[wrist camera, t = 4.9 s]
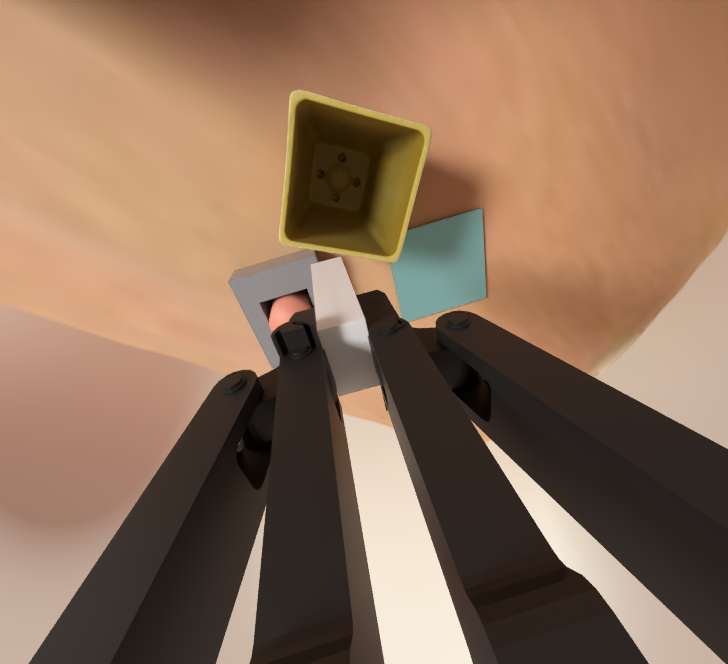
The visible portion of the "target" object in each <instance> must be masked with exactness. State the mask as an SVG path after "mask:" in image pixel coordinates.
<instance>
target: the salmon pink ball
mask: <svg viewBox="0 0 728 664" xmlns="http://www.w3.org/2000/svg"><path fill="white" fill-rule="evenodd" d="M310 308H312V301H311V299H310V297H309V296H308V294H307V293H305V292H304V291H302V290H300V291H297V292H293V293H290V294H287V295H283V296H280V297H277V298H274V300H273V304H272V309H271V314H270V319H269V326H270V329H271V331H272V332H273V331H274V330H275V329H276V328H277V327H278V326H280V325H282V324H284V323H286V322H289V319H290V318H291V317H292V315H293V314H294V313H295V312H299V311H303V310H307V309H310Z"/></svg>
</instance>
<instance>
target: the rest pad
mask: <svg viewBox="0 0 728 664" xmlns="http://www.w3.org/2000/svg"><path fill="white" fill-rule="evenodd" d="M390 263H391V268H392V273H393V277H394V282H395V287H396V291H397V296H398V301H399V306H400V310H401V315H402V319H405V320H406V321H407V322H409V321H412V320H416V319H419V318H422V317H425V316H429V315H432V314H435V313H438V312H441V311H445V310H448V309H451V308H454V307H458V306H461V305H464V304H467V303H471V302H474V301H477V300H480V299H484V298H486V277H485V256H484V234H483V213H482V208H478V209H475V210H472V211H468V212H465V213H462V214H458V215H455V216H452V217H448V218H445V219H442V220H438V221H435V222H432V223H428V224H425V225H422V226H418V227H415V228H412V229H408V230H407V233H406V237H405V240H404V244H403V248H402V252H401V255H400V257H399V259H398V261H397V262H390Z"/></svg>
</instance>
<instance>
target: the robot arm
mask: <svg viewBox="0 0 728 664" xmlns="http://www.w3.org/2000/svg"><path fill="white" fill-rule="evenodd" d="M311 273H312V284H313V294H314V304H315V307H314V308H310V309H307V310H303V311H299V312H295V313H294V314H293V315H292V317H291V318H290V319H289V322H286V323H284V324H282V325H280V326H278V327H277V328H276V329H275V330H274V331H273V332H272V334H271V336H270V337H271V339H272V341H273V344H274V346H275V348H276V350H277V353H278V355H279V357H280V362H279V366H278V367H277V368H275V369H274V370H272V371H270V372H268V373H266V374H264V375H262V376H260V377H257V375H256V373H255V372H253V371H251V370H241V371H237V372H233V373H231V374H229V375H227V376H226V377H224V378H223V379H221V380H220V381H219V382H218V383H217V384H216V385H215V386H214V387H213V389H212V390H211V392H210V393H209V395H208V397H207V398H206V400H205V401H204V402H203V404H202V405H201V407H200V408H199V410H198V411H197V413H196V414H195V416H194V418H193V419H192V420H191V422H190V423H189V425H188V426H187V428H186V429H185V431H184V432H183V434H182V435H181V437H180V438H179V440H178V441H177V443H176V444H175V446H174V447H173V449H172V450H171V452H170V453H169V455H168V456H167V458H166V459H165V461H164V462H163V464H162V465H161V467H160V468H159V470H158V471H157V473H156V474H155V476H154V477H153V479H152V480H151V482H150V483H149V485H148V486H147V488H146V489H145V491H144V492H143V494H142V495H141V497H140V498H139V500H138V501H137V503H136V504H135V506H134V507H133V508H132V510H131V512H130V513H129V514H128V516H127V518H126V519H125V520H124V522H123V523H122V525H121V526H120V528H119V529H118V531H117V533H116V534H115V535H114V537H113V539H112V540H111V541H110V543H109V544H108V546H107V547H106V549H105V551H104V552H103V553H102V555H101V556H100V558H99V559H98V561H97V562H96V564H95V565H94V567H93V568H92V570H91V571H90V573H89V574H88V576H87V578H86V579H85V580H84V582H83V583H82V585H81V586H80V588H79V589H78V591H77V592H76V594H75V595H74V597H73V598H72V600H71V601H70V603H69V604H68V606H67V607H66V609H65V610H64V612H63V613H62V615H61V616H60V618H59V619H58V621H57V622H56V624H55V625H54V627H53V628H52V630H51V631H50V633H49V634H48V636H47V637H46V639H45V640H44V642H43V643H42V645H41V646H40V648H39V649H38V651H37V652H36V654H35V655H34V657H33V658H32V660H31V661H30V663H29V664H216V661H217V658H218V654H219V651H220V648H221V645H222V642H223V639H224V636H225V632H226V629H227V626H228V623H229V620H230V617H231V613H232V610H233V607H234V604H235V601H236V598H237V595H238V592H239V588H240V585H241V582H242V579H243V576H244V573H245V569H246V566H247V563H248V560H249V557H250V554H251V551H252V548H253V544H254V541H255V538H256V535H257V532H258V528H259V525H260V522H261V519H262V516H263V513H264V510H265V506H266V514H265V525H264V537H263V547H262V558H261V569H260V580H259V591H258V602H257V612H256V624H255V634H254V645H253V651H252V658H251V661H250V664H384V658H383V653H382V647H381V641H380V635H379V629H378V623H377V617H376V611H375V605H374V599H373V593H372V587H371V581H370V575H369V569H368V563H367V557H366V551H365V545H364V539H363V533H362V527H361V521H360V515H359V509H358V504H357V497H356V491H355V485H354V480H353V473H352V468H351V462H350V456H349V449H348V443H347V438H346V432H345V426H344V420H343V414H342V408H341V404H340V401H339V398H338V395H339V396H342V395H345V394H349V393H352V392H356V391H360V390H363V389H367V388H370V387H374V386H377V385H381V389H382V394H383V398H384V402H385V406H386V411H387V410H388V412H389V415H390V418H391V421H392V424H393V426H394V429H395V432H396V435H397V438H398V441H399V444H400V447H401V450H402V453H403V456H404V459H405V462H406V465H407V468H408V471H409V474H410V477H411V480H412V483H413V485H414V488H415V492H416V494H417V498H418V501H419V503H420V506H421V509H422V512H423V515H424V518H425V521H426V524H427V527H428V530H429V533H430V536H431V539H432V542H433V545H434V548H435V551H436V553H437V557H438V560H439V562H440V566H441V569H442V572H443V575H444V577H445V580H446V583H447V586H448V589H449V592H450V595H451V598H452V601H453V604H454V607H455V610H456V613H457V616H458V619H459V621H460V625H461V627H462V631H463V634H464V637H465V640H466V643H467V646H468V649H469V652H470V655H471V658H472V662H473V664H649V663H648V662H647V660H646V659H645V658H644V656H643V655H642V653H641V652H640V650H639V649H638V647H637V646H636V644H635V643H634V641H633V640H632V638H631V637H630V636H629V634H628V632H627V631H626V630H625V628H624V627H623V625H622V624H621V622H620V621H619V619H618V618H617V616H616V615H615V614H614V612H613V611H612V609H611V608H610V607H609V605H608V604H607V603H606V601H605V600H604V599H603V597H602V596H601V595H600V593H599V592H598V591H597V589H596V588H595V587H594V586H593V585H592V584H591V583H590V582H589V581H588V580H587V579H586V578H585V577H583V575H581V574H579V573H577V572H575V571H573V570H571V569H570V568H568V567H566V566H565V565H564V564H563V563H562V562H561V561H560V560H559V558H558V557H557V555H556V554H555V553H554V551H553V550H552V548H551V547H550V545H549V543H548V542H547V540H546V539H545V537H544V536H543V534H542V532H541V531H540V529H539V528H538V526H537V525H536V523H535V522H534V520H533V518H532V517H531V515H530V513H529V512H528V510H527V509H526V507H525V506H524V504H523V503H522V501H521V499H520V498H519V496H518V494H517V493H516V492H515V490H514V488H513V487H512V485H511V483H510V482H509V480H508V479H507V477H506V476H505V474H504V472H503V471H502V469H501V468H500V466H499V464H498V463H497V461H496V460H495V458H494V457H493V455H492V453H491V452H490V450H489V449H488V447H487V446H486V444H485V442H484V441H483V439H482V438H481V436H480V434H479V433H478V431H477V430H476V428H475V426H474V425H473V423H475V424H476V425H477V426H478V427H479V428H480V429H481V430H482V431H483V432H484V433H485V434H486V435H487V436H488V437H489V438H490V439H491V440H492V441H493V442H494V443H495V444H497V445H498V446H499V447H500V448H501V449H502V450H503V451H504V452H505V453H506V454H507V455H508V456H509V457H510V458H511V459H512V460H513V461H514V462H515V463H516V464H518V466H520V467H521V468H522V469H523V470H524V471H525V472H526V473H527V474H528V475H529V476H530V477H531V478H532V479H533V480H534V481H535V482H536V483H537V484H538V485H540V486H541V488H543V489H544V490H545V491H546V492H547V493H548V494H549V495H550V496H551V497H552V498H553V499H554V500H555V501H556V502H557V503H558V504H559V505H560V506H561V507H562V508H564V510H566V511H567V512H568V513H569V514H570V515H571V516H572V517H573V518H574V519H575V520H576V521H577V522H578V523H579V524H580V525H581V526H582V527H583V528H585V529H586V530H587V532H589V533H590V534H591V535H592V536H593V537H594V538H595V539H596V540H597V541H598V542H599V543H600V544H601V545H602V546H603V547H604V548H605V549H606V550H607V551H608V552H609V553H611V554H612V555H613V556H614V557H615V558H616V559H617V560H618V561H619V562H620V563H621V564H622V565H623V566H624V567H625V568H626V569H627V570H628V571H629V572H631V574H632V575H634V576H635V577H636V578H637V579H638V580H639V581H640V582H641V583H642V584H643V585H644V586H645V587H646V588H647V589H648V590H649V591H650V592H651V593H652V594H653V595H654V596H655V597H657V598H658V599H659V600H660V601H661V602H662V603H663V604H664V605H665V606H666V607H667V608H668V609H669V610H670V611H671V612H672V613H673V614H674V615H676V617H678V618H679V619H680V620H681V621H682V622H683V623H684V624H685V625H686V626H687V627H688V628H689V629H690V630H691V631H692V632H693V633H694V634H695V635H696V636H697V637H698V638H699V639H700V640H702V641H703V642H704V643H705V644H706V645H707V646H708V647H709V648H710V649H711V650H712V651H713V652H714V653H715V654H716V655H717V656H718V657H719V658H720V659H721V660H722V661H723V662H725V663H726V664H728V449H726V448H725V447H723V446H721V445H719V444H717V443H715V442H713V441H711V440H710V439H708V438H706V437H704V436H702V435H700V434H698V433H697V432H695V431H693V430H691V429H689V428H687V427H685V426H684V425H682V424H679V423H678V422H676V421H674V420H672V419H671V418H669V417H666V416H665V415H663V414H661V413H659V412H657V411H656V410H654V409H652V408H650V407H648V406H646V405H644V404H643V403H641V402H639V401H637V400H635V399H633V398H631V397H629V396H628V395H626V394H624V393H622V392H620V391H618V390H616V389H615V388H613V387H611V386H609V385H607V384H605V383H603V382H601V381H599V380H598V379H596V378H594V377H592V376H590V375H588V374H587V373H585V372H583V371H581V370H579V369H577V368H575V367H574V366H572V365H570V364H568V363H566V362H564V361H562V360H560V359H559V358H557V357H555V356H553V355H551V354H549V353H547V352H546V351H544V350H542V349H540V348H538V347H536V346H534V345H532V344H531V343H529V342H527V341H525V340H523V339H521V338H519V337H518V336H516V335H514V334H512V333H510V332H508V331H506V330H505V329H503V328H501V327H499V326H497V325H495V324H493V323H491V322H490V321H488V320H486V319H484V318H482V317H480V316H478V315H477V314H474V313H471V312H467V311H452V312H449V313H446V314H444V315H442V316H440V317H439V318H438V319H437V321H436V327H435V328H413V327H411V325H410V324H409V322H407V321H406V320H405V319H402V318H399V316H398V314H397V313H396V311H395V309H394V308H393V306H392V305H391V303H390V301H389V300H388V298H387V296H386V294H385V293H383V292H381V291H379V290H375V291H371V292H367V293H363V294H360V295H356V294H355V292H354V289H353V287H352V284H351V282H350V279H349V276H348V274H347V271H346V269H345V266H344V264H343V261H342V259H341V257H337V258H333V259H329V260H325V261H321V262H318V263H314V264H311ZM337 392H338V395H337ZM471 421H472V422H473V423H472V422H471ZM238 445H239V446H238Z"/></svg>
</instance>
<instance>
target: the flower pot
mask: <svg viewBox="0 0 728 664" xmlns="http://www.w3.org/2000/svg"><path fill="white" fill-rule="evenodd" d="M431 133H432V130H431V128H430V127H429V126H427V125H425V124H422V123H418V122H414V121H411V120H407V119H403V118H399V117H395V116H392V115H388V114H384V113H381V112H377V111H374V110H370V109H366V108H363V107H359V106H356V105H352V104H349V103H345V102H342V101H339V100H336V99H332V98H329V97H326V96H322V95H319V94H316V93H312V92H308V91H304V90H294V91H293V92H292V93H291V95H290V99H289V113H288V133H287V149H286V163H285V176H284V187H283V197H282V207H281V217H280V226H279V241H280V243H281V244H282V245H285V246H290V247H296V248H303V249H309V250H316V251H323V252H329V253H336V254H342V255H348V256H354V257H360V258H366V259H372V260H378V261H384V262H397V261H398V259H399V257H400V255H401V252H402V248H403V244H404V240H405V237H406V233H407V229H408V225H409V221H410V217H411V213H412V210H413V206H414V202H415V198H416V194H417V190H418V187H419V183H420V180H421V176H422V172H423V168H424V165H425V161H426V158H427V154H428V150H429V146H430V141H431ZM341 154H342V155H344V156H345V161H343V162H341V161H340V160H339V156H340V155H341ZM319 171H323V172H324V176H323V178H319V177H318V175H317V174H318V172H319ZM355 179H358V180H359V182H360V183H359V185H358V186H355V185H354V183H353V181H354V180H355ZM335 194H337V195H338V196H339V199H338V200H337V201H334V200H333V195H335Z"/></svg>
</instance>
